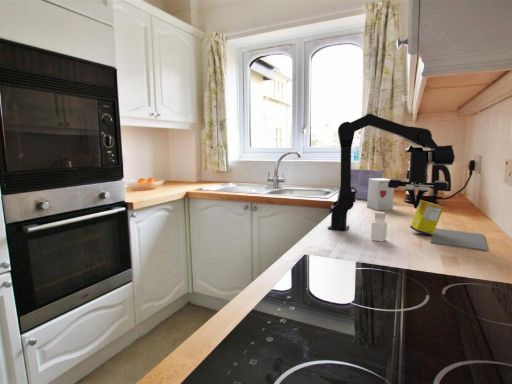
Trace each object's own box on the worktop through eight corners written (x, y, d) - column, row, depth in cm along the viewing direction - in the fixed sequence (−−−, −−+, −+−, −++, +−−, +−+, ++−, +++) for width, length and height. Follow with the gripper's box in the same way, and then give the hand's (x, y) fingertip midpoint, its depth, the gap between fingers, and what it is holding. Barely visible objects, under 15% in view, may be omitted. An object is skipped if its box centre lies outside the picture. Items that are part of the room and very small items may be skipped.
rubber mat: (487, 251, 94) (487, 249, 94) (430, 243, 102) (430, 241, 102) (483, 235, 111) (483, 234, 111) (434, 229, 119) (434, 228, 119)
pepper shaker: (386, 240, 105) (388, 212, 104) (381, 242, 103) (383, 214, 101) (375, 237, 108) (376, 210, 107) (370, 240, 105) (371, 212, 104)
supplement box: (425, 231, 115) (436, 204, 113) (432, 236, 109) (444, 207, 107) (409, 227, 116) (420, 199, 114) (415, 231, 110) (427, 202, 108)
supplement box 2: (377, 210, 152) (378, 180, 150) (366, 207, 161) (368, 178, 159) (393, 209, 154) (395, 179, 152) (381, 206, 163) (383, 177, 161)
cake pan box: (383, 200, 182) (385, 169, 179) (381, 201, 178) (383, 170, 175) (350, 197, 192) (351, 168, 189) (347, 198, 188) (349, 168, 185)
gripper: (450, 164, 112) (446, 206, 114) (394, 163, 122) (391, 202, 124) (449, 166, 103) (445, 212, 105) (388, 164, 113) (386, 207, 115)
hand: (415, 208), depth 113 cm, fingers closed
